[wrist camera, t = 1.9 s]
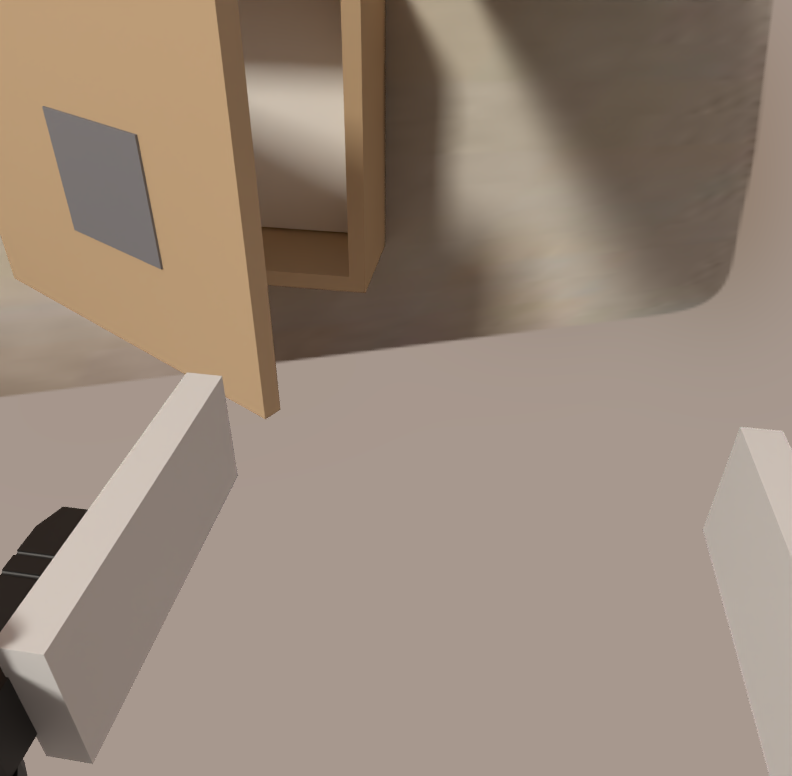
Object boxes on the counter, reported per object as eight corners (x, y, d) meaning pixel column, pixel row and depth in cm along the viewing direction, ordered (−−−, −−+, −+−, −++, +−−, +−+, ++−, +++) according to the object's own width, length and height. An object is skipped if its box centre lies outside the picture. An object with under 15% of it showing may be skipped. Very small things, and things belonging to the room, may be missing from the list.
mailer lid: (29, 272, 38) (12, 278, 37) (-73, -52, 29) (-96, -51, 29) (280, 409, 28) (263, 420, 27) (236, -18, 20) (210, -16, 19)
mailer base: (87, 223, 42) (29, 266, 38) (17, -53, 34) (-67, -44, 30) (385, 244, 40) (365, 292, 35) (385, -45, 32) (359, -34, 27)
